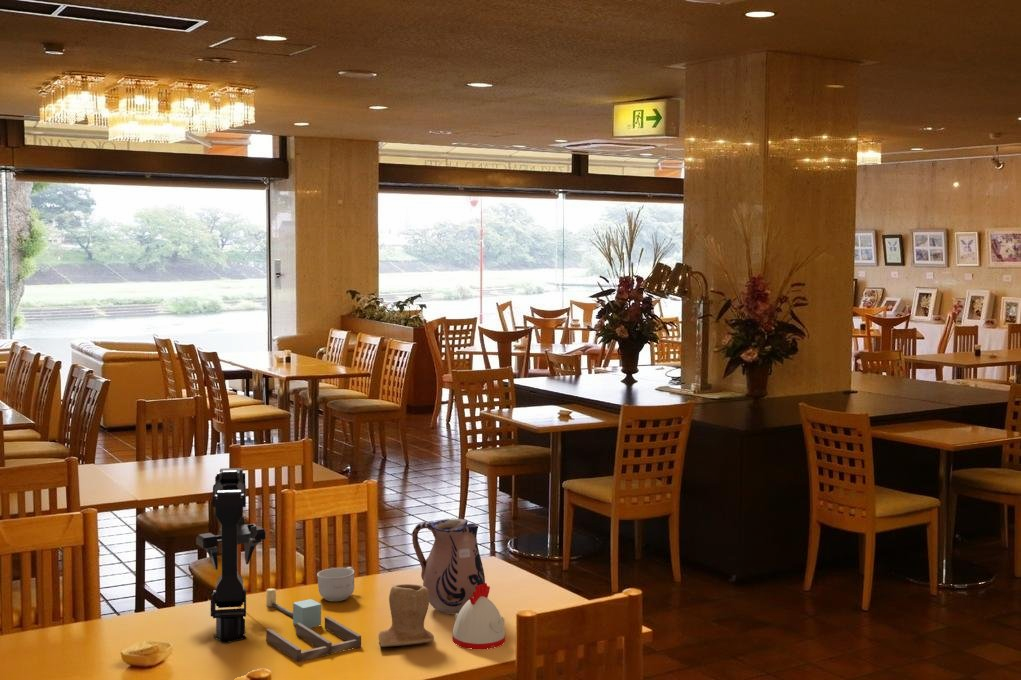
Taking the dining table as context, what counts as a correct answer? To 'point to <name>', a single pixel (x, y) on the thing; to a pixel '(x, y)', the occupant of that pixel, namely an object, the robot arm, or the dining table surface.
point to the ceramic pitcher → (450, 563)
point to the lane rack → (315, 641)
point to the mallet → (298, 610)
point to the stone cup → (407, 616)
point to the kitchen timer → (479, 622)
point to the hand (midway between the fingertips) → (231, 566)
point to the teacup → (336, 583)
